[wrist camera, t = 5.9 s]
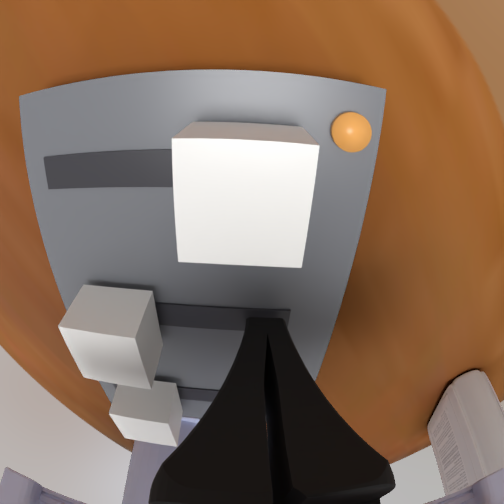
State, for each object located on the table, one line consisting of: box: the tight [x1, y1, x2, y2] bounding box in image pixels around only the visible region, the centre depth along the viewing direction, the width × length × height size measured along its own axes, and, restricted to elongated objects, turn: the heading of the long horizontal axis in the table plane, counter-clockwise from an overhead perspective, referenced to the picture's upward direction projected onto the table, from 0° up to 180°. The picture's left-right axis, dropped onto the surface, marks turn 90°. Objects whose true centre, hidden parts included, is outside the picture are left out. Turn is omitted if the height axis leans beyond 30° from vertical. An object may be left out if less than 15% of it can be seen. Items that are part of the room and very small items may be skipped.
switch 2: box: [172, 122, 320, 268], centre depth 8 cm, size 3×3×2 cm
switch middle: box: [58, 284, 163, 389], centre depth 11 cm, size 3×3×2 cm
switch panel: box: [19, 70, 386, 419], centre depth 13 cm, size 20×12×2 cm, turn 177°
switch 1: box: [109, 381, 183, 447], centre depth 14 cm, size 3×3×2 cm
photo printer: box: [428, 370, 504, 496], centre depth 16 cm, size 10×4×12 cm, turn 14°
